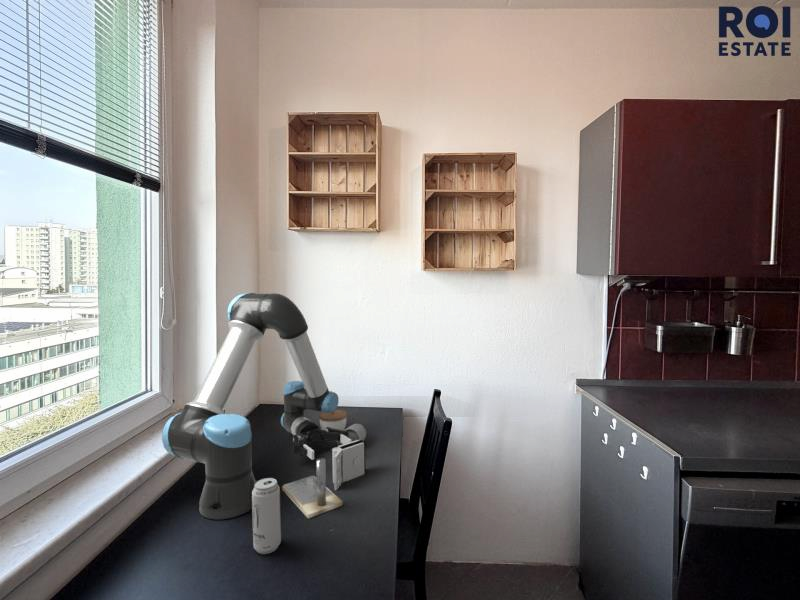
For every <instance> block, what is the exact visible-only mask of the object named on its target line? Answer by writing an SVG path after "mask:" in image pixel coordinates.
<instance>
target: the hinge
mask: <svg viewBox="0 0 800 600" xmlns="http://www.w3.org/2000/svg"><path fill="white" fill-rule="evenodd" d="M331 451H332V453H331V454H332V456H331V458H332V483H333V489H334V491H336V490H337V489H338V490H339V488H340V487H341V485H342V484H343V483H345V481H346V482H348V481H351V480H353V479H356V478H359V477H361V476H363V475H365V473H366V472H367V471H366V441H365V440H364V441H363V440H356V441H352V442H349V443H346V444H343V445H342V444H340V445H337V447H333V448H331ZM341 483H342V484H341ZM339 486H340V487H339ZM338 490H337V491H338Z"/></svg>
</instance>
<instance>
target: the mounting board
mask: <svg viewBox="0 0 800 600" xmlns="http://www.w3.org/2000/svg"><path fill="white" fill-rule="evenodd" d="M313 476H314V475H313ZM314 477H315V478H316V479H317V476H314ZM326 488H327V489H328V490H329V491H330V492H331V493H332V495H330V496H327V497H326V505H325V506H318V505H317V500H316V501H313V502H310V503H308V504H305V505H301V504H300V503H299V502H298V501H297V500H296V498H295V497H294V496H293V495H292V494H291V493H290V492H289V491H288V490H287V489H286V488H285V487H284V485H281V490H282V492H284V493H285V495H286V496H287V497H288V498H289V499H290V500H291V501H292V502H293V504H294V505H295V506H296V507H297V508H298V509H299V511H300V512H302V514H303V515H304V516H305V517H306V518H307V519H311V518H314V517H316V516H319V515H322V514H324V513H327V512H329V511H331V510H334V509H337V508H340V507H341V506H343V505H344V503H343V500H342V499H341V498H339V496H337V495H336V494H335V493H333V491H332V490H330V489H329V488H328V487H327V486H326Z"/></svg>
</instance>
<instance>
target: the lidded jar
mask: <svg viewBox="0 0 800 600" xmlns="http://www.w3.org/2000/svg"><path fill="white" fill-rule="evenodd" d="M347 416H348V414H347V412H346V411H344V410H340V409H335V411H334V412H332V413H327V412H320V413H319V415H318V417H319V425H320V429H322V430H326V427H330V428H333V429H338V430H343V431H344V430H345V429H346V425H347Z"/></svg>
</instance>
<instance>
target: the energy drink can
mask: <svg viewBox="0 0 800 600" xmlns="http://www.w3.org/2000/svg"><path fill="white" fill-rule="evenodd" d="M254 486H255V487H254V489H253V491H252V509H251V510H252V511H251V513H252V540H253V541H252V542H253V543H252V545H253V546H252V547H253V549H254V550H255V551H256V552H257V553H258V554H260V555H267V554H270V553H273V552H276V550H277V549H278V548H279V545H280V544H281V542H282V527H281V522H282V521H281V520H282V519H281V490H280V489H281V487H280V485H279V484H278V481H277V479H275V478H273V477H266V478H261V479H259V480H256V483H255V485H254Z"/></svg>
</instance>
